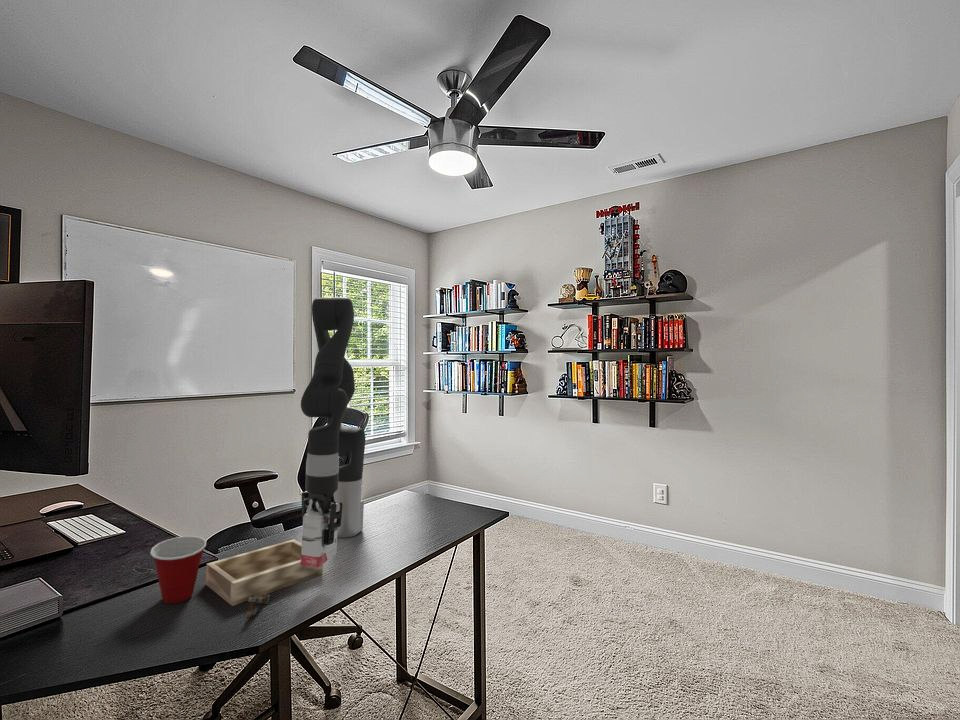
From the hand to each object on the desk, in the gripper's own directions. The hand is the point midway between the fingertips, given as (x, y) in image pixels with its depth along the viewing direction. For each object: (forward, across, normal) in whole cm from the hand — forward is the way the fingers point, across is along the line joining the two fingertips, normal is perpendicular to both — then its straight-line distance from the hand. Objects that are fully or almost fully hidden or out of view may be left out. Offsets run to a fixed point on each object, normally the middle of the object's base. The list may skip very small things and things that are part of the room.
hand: (320, 539), depth 117 cm
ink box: (+5, 0, 0) cm, 5 cm away
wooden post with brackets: (+12, 0, +15) cm, 19 cm away
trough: (+12, +13, +6) cm, 19 cm away
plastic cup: (+12, +18, +24) cm, 32 cm away
